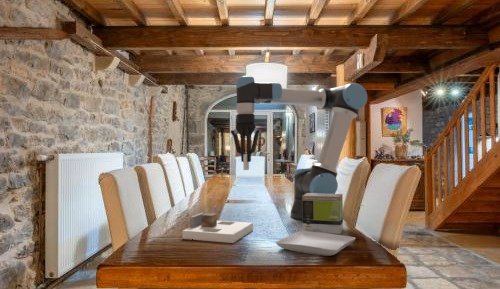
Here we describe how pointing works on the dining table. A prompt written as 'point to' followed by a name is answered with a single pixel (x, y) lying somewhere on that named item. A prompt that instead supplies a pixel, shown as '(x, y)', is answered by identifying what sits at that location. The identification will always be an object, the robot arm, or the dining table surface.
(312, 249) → the salad plate
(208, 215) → the walnut block
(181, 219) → the dining table surface
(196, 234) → the platform
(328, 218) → the tea box
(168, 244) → the dining table surface
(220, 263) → the dining table surface
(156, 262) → the dining table surface
